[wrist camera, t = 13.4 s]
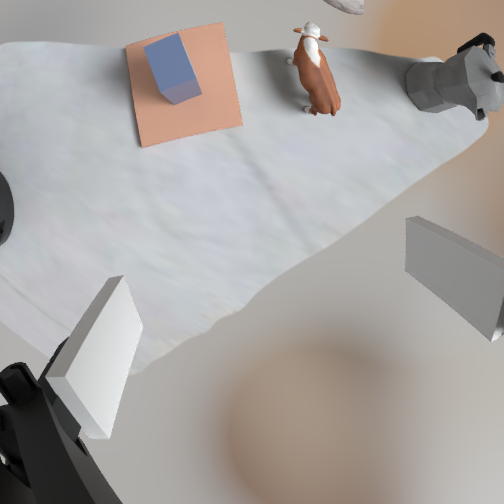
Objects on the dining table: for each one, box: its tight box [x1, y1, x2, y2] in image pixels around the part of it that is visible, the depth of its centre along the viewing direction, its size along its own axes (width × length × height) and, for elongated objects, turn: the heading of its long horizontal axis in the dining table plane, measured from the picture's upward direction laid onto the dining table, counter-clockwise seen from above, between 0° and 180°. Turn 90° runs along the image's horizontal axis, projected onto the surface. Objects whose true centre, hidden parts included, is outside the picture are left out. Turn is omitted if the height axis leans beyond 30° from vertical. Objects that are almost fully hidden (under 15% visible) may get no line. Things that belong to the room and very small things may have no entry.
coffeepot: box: [406, 33, 504, 121], centre depth 30 cm, size 15×9×18 cm, turn 162°
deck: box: [143, 33, 202, 105], centre depth 31 cm, size 6×4×10 cm
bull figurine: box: [286, 22, 341, 116], centre depth 34 cm, size 4×13×8 cm, turn 14°
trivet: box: [126, 23, 243, 148], centre depth 36 cm, size 14×16×1 cm
